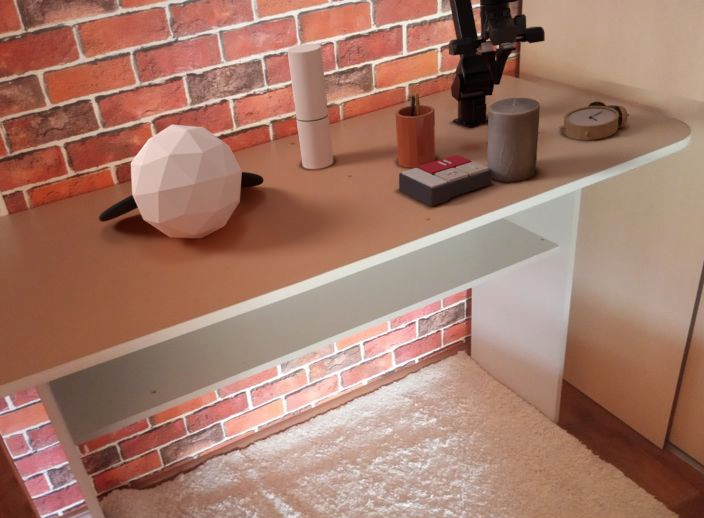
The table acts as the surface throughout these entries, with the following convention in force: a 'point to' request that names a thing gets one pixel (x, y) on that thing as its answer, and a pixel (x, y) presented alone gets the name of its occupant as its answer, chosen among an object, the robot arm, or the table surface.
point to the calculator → (444, 179)
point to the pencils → (414, 99)
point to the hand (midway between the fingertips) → (497, 84)
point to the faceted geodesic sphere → (184, 183)
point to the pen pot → (415, 136)
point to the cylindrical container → (310, 105)
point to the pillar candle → (513, 138)
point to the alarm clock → (594, 121)
